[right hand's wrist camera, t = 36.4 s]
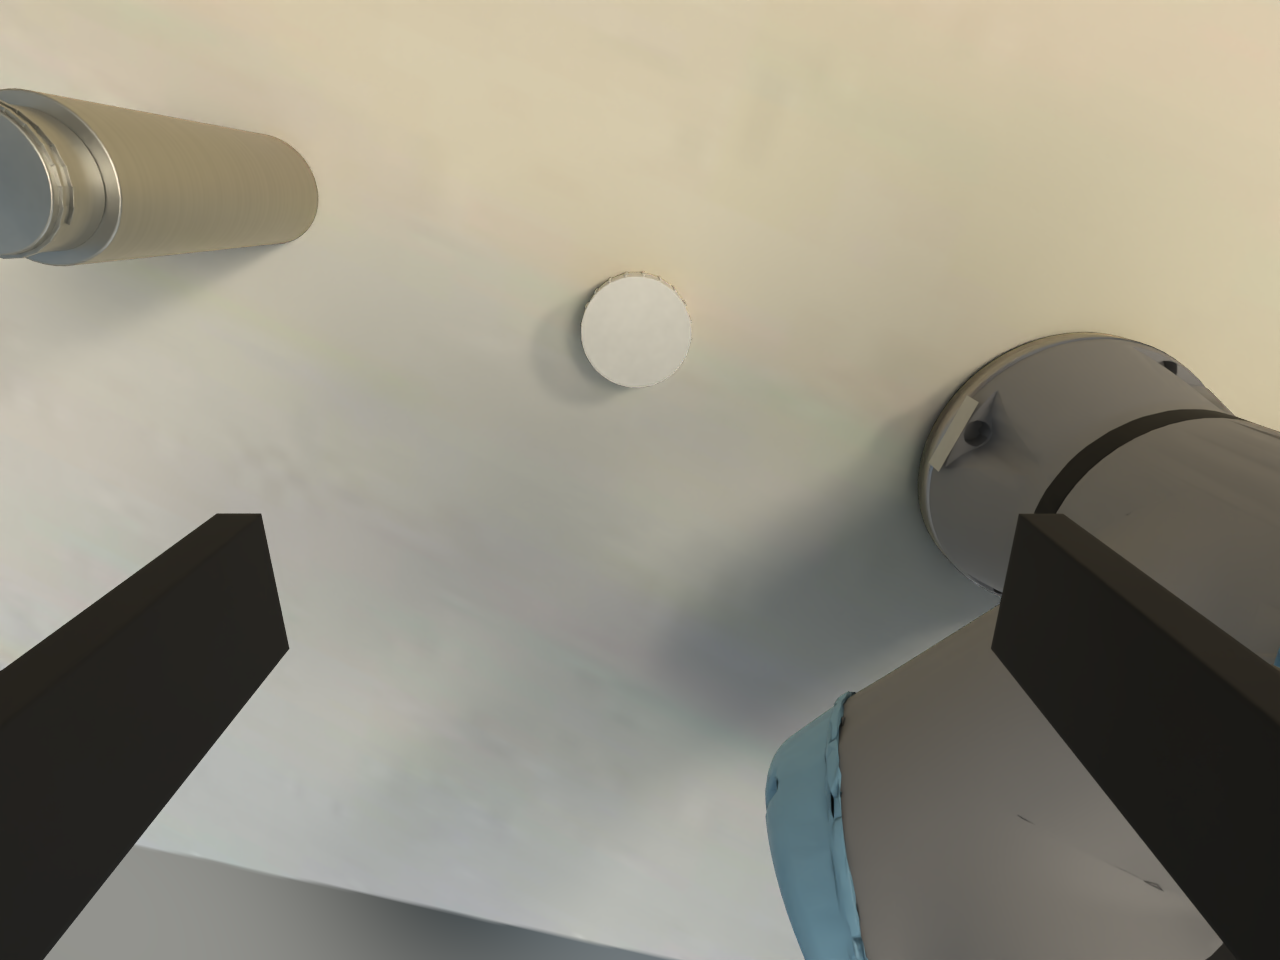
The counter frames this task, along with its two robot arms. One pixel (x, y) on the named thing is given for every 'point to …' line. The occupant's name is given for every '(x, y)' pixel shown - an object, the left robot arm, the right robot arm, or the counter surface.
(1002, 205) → the counter surface
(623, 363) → the lid
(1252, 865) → the right robot arm
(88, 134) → the jar
